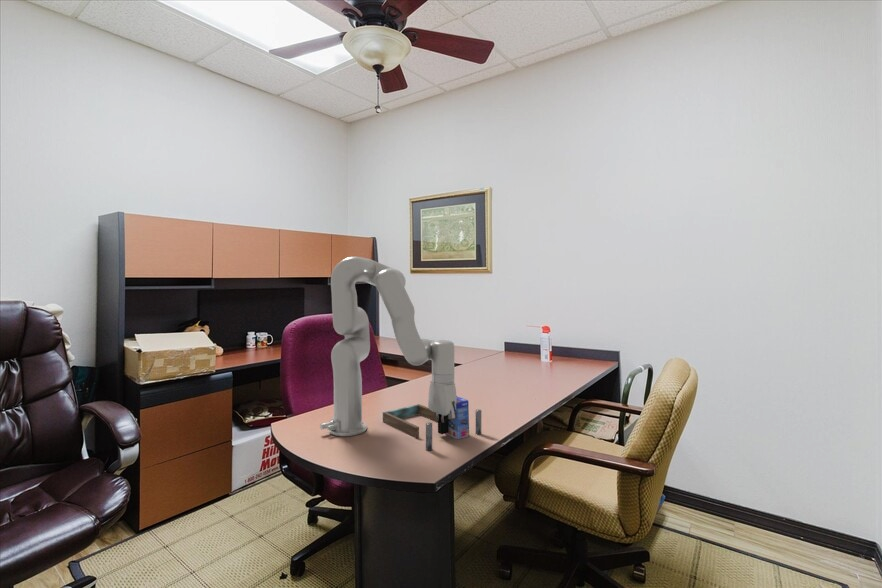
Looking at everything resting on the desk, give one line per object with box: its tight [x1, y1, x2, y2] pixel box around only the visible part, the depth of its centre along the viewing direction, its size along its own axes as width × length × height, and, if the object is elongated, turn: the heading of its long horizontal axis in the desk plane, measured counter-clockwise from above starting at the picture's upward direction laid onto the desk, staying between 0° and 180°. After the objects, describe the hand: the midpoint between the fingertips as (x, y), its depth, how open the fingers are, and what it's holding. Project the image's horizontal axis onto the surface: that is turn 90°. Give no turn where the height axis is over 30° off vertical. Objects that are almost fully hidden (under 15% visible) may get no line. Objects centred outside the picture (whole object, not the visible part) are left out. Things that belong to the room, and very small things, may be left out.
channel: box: [382, 403, 438, 439], centre depth 151 cm, size 16×21×4 cm
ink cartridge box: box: [445, 396, 470, 440], centre depth 141 cm, size 10×6×14 cm, turn 37°
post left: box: [425, 422, 433, 452], centre depth 128 cm, size 2×2×8 cm
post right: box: [475, 409, 482, 436], centre depth 141 cm, size 2×2×8 cm
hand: (443, 432), depth 139 cm, fingers closed
